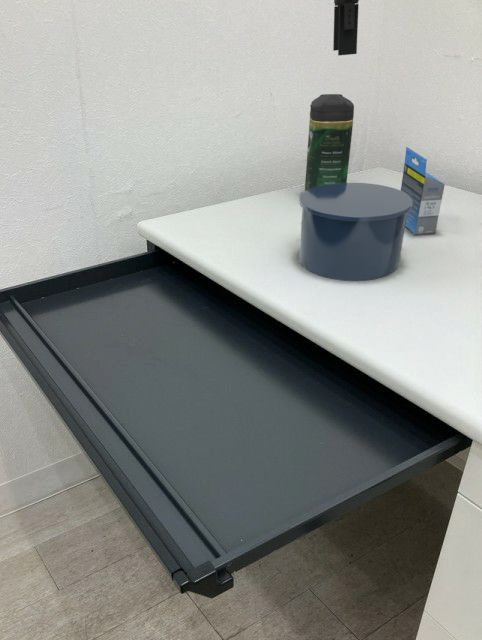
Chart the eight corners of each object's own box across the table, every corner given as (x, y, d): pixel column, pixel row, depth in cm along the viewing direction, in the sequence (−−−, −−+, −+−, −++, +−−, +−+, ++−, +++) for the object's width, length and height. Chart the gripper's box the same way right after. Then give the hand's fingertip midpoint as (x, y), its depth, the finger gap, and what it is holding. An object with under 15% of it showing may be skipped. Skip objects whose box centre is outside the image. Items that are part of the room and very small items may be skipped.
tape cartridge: (436, 234, 99) (451, 158, 92) (414, 235, 99) (426, 159, 92) (416, 216, 107) (428, 144, 100) (394, 218, 106) (405, 146, 99)
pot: (388, 239, 98) (396, 181, 93) (415, 280, 85) (427, 215, 79) (291, 242, 99) (294, 184, 93) (302, 283, 85) (306, 218, 80)
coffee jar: (347, 205, 113) (358, 99, 103) (305, 205, 114) (312, 100, 103) (342, 190, 121) (352, 90, 111) (303, 190, 122) (309, 91, 111)
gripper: (319, -97, 97) (318, 50, 108) (326, -128, 76) (323, 59, 87) (367, -104, 96) (360, 46, 107) (387, -136, 75) (376, 54, 86)
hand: (344, 52), depth 97 cm, fingers open, 13 cm apart
